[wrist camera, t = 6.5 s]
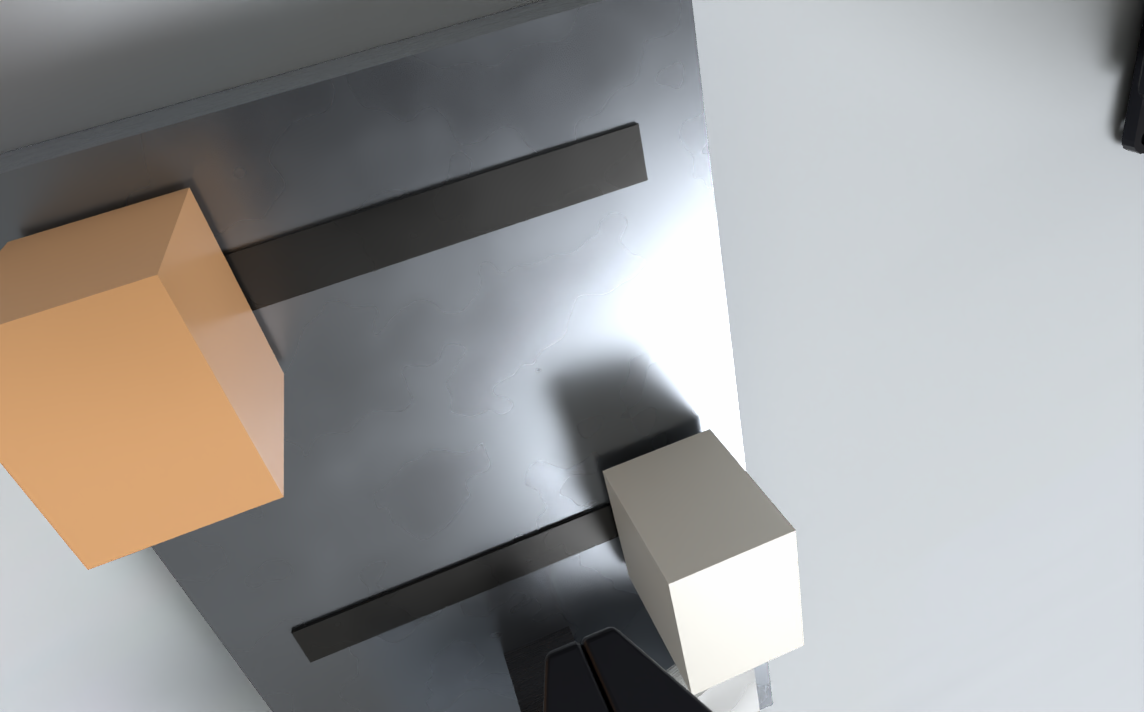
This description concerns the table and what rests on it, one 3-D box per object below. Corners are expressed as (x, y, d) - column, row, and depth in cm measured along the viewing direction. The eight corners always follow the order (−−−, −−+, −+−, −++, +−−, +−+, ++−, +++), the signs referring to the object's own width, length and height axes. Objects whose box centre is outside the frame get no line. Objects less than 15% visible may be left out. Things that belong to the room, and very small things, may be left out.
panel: (647, -30, 16) (833, -7, 11) (745, 662, 29) (851, 833, 24) (-55, 169, 14) (-274, 327, 8) (390, 822, 27) (417, 1051, 21)
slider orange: (189, 187, 13) (156, 274, 10) (283, 373, 15) (283, 496, 12) (7, 241, 13) (-90, 352, 9) (131, 426, 15) (87, 569, 12)
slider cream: (709, 428, 20) (795, 530, 16) (725, 536, 22) (804, 645, 19) (602, 470, 19) (668, 584, 16) (628, 576, 21) (692, 695, 18)
